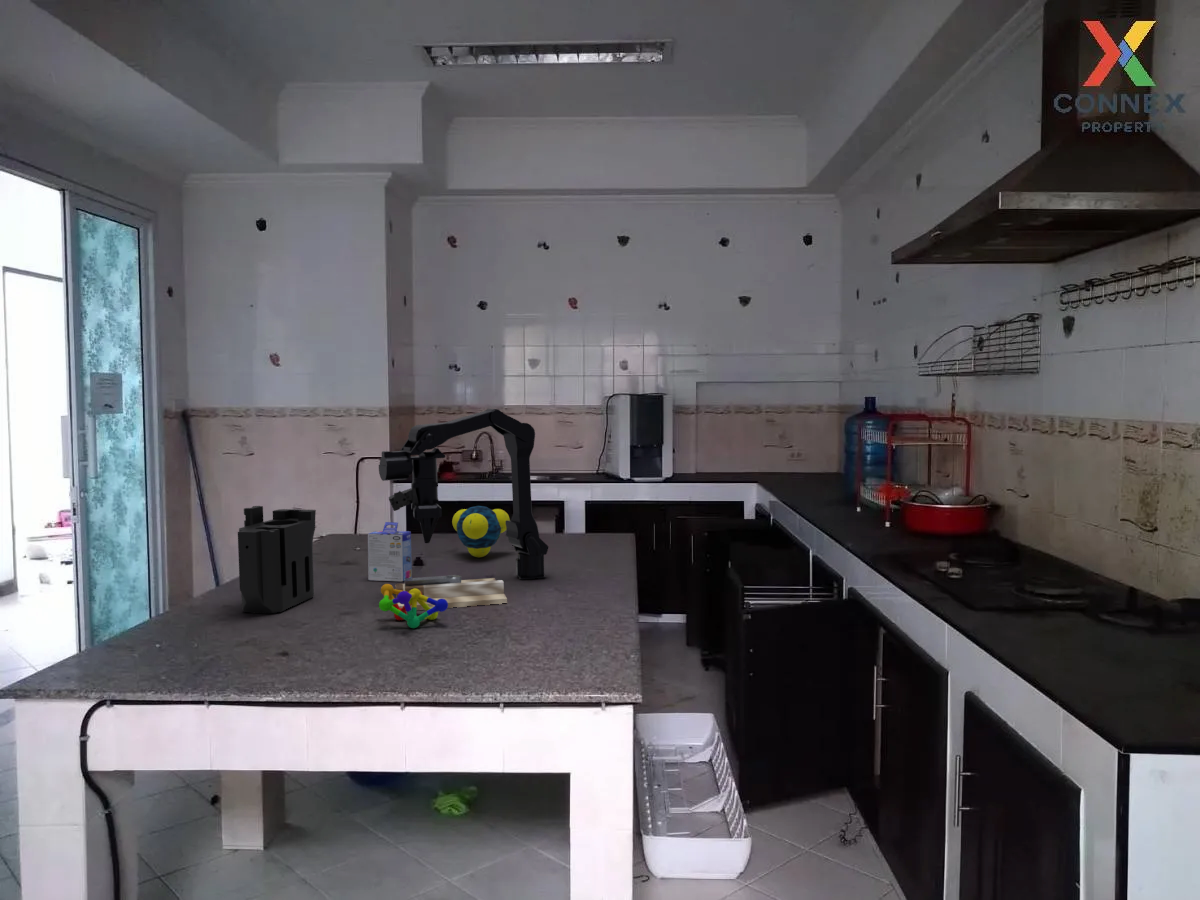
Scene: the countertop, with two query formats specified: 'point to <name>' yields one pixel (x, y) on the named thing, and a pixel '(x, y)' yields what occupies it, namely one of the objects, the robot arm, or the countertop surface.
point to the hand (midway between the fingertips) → (427, 542)
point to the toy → (479, 528)
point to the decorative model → (409, 600)
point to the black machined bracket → (276, 559)
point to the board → (467, 598)
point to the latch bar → (432, 580)
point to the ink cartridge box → (389, 554)
